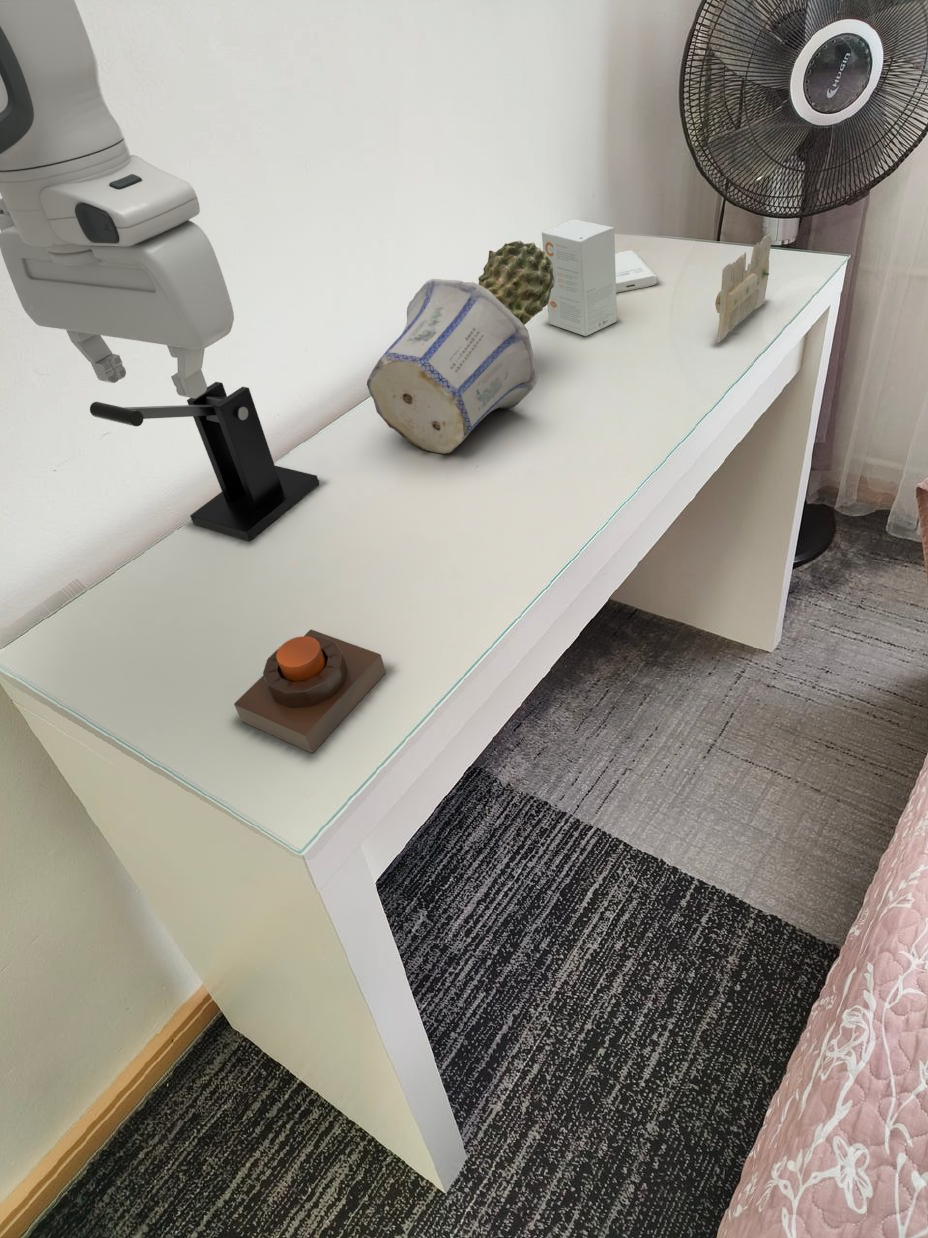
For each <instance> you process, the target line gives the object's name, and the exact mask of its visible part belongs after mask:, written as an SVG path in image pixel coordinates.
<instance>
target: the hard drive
mask: <svg viewBox="0 0 928 1238" xmlns="http://www.w3.org/2000/svg"><path fill="white" fill-rule="evenodd" d="M615 272H616V294H618V293H622V292H627V291H632V290H638V289H642V288H646V287H652V286H655V285H656V284H657V283H658V276H657V275H656V274H655V273H654V272H653V271H652V269H651V268H650V267H649V266H648V265H647V264H646V263H645V262H644V260H643V259H641V257H640V256H639V255H638V254H637V253H636V252H635V251H634V250H631V249H629V250H624V251H620V252H615Z"/></svg>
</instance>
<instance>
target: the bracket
mask: <svg viewBox="0 0 928 1238" xmlns="http://www.w3.org/2000/svg"><path fill="white" fill-rule="evenodd" d="M219 396H227V397H226V398H224V399H223V400H221V401H220V402H218V403H217V404H215V405H214V409H215V412H216V415H217V417H218V420H219V422H214V421H209V420H206V416H193V418H192V419H193V420H194V423H195V426H196V428H197V432H198V433H199V436H200V439H201V441H202V444H203V446H204V448H205V449H204V450H205V452H206V454H207V456H208V459H209V462H210V464H211V467H212V469H213V472H214V474H215V477H216V480H217V482H218V484H219V487H220V490H221V491H220V492H219V493H217V494H216V495H215V496H214V497H212V498H211V499H210V500H209V501H207V502H206V503H204V505H202V506H201V507H199V508H198V509H197V510H195V511H194V512H193V513H191V514H190V515H189V516H190V519H191V521H192V524H193V525H196V526H199V527H202V528H204V529H209V530H211V531H215V532H218V533H221V534H224V535H228V536H231V537H235V538H238V539H241V540H245V541H248V542H251V541H252V540H253V539H254V538H256V537H257V536H258V535H259V534H261V533H262V532H263V531H264V530H265V529H267V528H268V527H269V526H271V524H273V523H274V522H275V521H276V520H278V519H279V518H280V517H282V516H283V515H284V514H285V513H287V512H288V511H289V510H290V509H291V508H293V507H294V506H295V505H296V504H297V503H299V501H301V500H302V499H303V498H304V497H306V496H307V495H308V494H309V493H310V492H312V491H313V490H315V488H317V487H318V486H319V485H320V482H319V478H318V475H317V474H312V473H308V472H304V471H299V470H296V469H291V468H287V467H283V466H279V465H275V461H274V460H273V459H274V458H273V456H272V453H271V450H270V447H269V444H268V440H267V438H266V435H265V432H264V429H263V425H262V423H261V420H260V418H259V414H258V411H257V408H256V404H255V401H254V399H253V396H252V393H251V390H250V388H249V387H247V386H241V387H239V388H238V389H236V390H235V391H233V392H232V393H231V394H229V395H227V391H226V389H225V386H224V384H223V382H220V381H215V382H213V383H211V384H210V385H207V390H206V392H205V393H203V394H202V395H200V396H199V397H197V398H196V399H195V398H188V399H187V400H186V402H187V405H206V397H219Z"/></svg>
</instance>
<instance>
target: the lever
mask: <svg viewBox="0 0 928 1238" xmlns="http://www.w3.org/2000/svg"><path fill="white" fill-rule="evenodd" d="M227 396H228V395H227ZM227 396H219V397H206V405H188V404H185V405H184V404H180V405H156V406H155V405H154V406H124V407H123V406H119V405H115V404H109V403H105V402H101V401H93V402H92V403H91V404H90V406H89V412H90V413H89V414H91V416H92V417H95V418H98V419H103V420H106V421H110V422H115V423H121V424H124V425H127V426H132V427H140V426H141V425H142V424H143V423H144V420H150V419H169V418H171V419H172V418H190V417H191V418H192V417H193V416H206V420H209V421H214V422H219V420H218V417H217V415H216V412H215V409H214V405H215V404H217V403H218V402H220V401H221V400H223V399H224V398H226V397H227Z"/></svg>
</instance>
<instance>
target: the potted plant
mask: <svg viewBox="0 0 928 1238" xmlns="http://www.w3.org/2000/svg"><path fill="white" fill-rule="evenodd" d="M482 270H483V273H482V274H481V275H479V276H478V278H477V280H478V283H477V282H474V281H463V280H457V279H443V278H442V279H441V278H431V279H428V280H426V282H425V283H424V284H423V285H422V286H421V287H420V289H419V290H417V292H416V293H415V294H414V296H413V298H412V299H411V300H410V301H409V302H408V304H407V307H406V324H405V326H404V329H403V330H402V333H401V334H400V335H399V337H397V339H396V340H395V341H394V342H393V343H392V344H391V345H390V346H389V348H387V350H385V352H384V353H383V355H382V356H381V357H380V358H379V359H378V361H377V363H376V364H375V365H374V367H373V369H372V370H371V373H370V374H369V376H368V378H367V380H366V386H367V389H368V392H369V396H370V397H371V398H372V399H373V403H374V407H375V410H376V413H377V414H378V415H379V417H380V418H382V420H383V421H384V422H385V423H386V425H387V426H388V428H390V429H392V430H394V431H395V432H396V433H397V434H399V435H400V436H401V437H402V438H404V439H405V440H407V441H409V442H410V443H411V444H412V445H414V446H416V447H418V448H419V449H421V450H422V451H425V452H432V453H437V454H444V455H445V454H451V452H453V451H454V450H455V449H456V448H457V447H459V445H461V444H462V443H463V441H464V440H465V439H466V438H467V437H468V436H469V435H470V433H471V432H472V431H473V430H474V429H475V427H477V425H479V424H480V422H481V421H482V420H483V419H485V417H487V416H488V415H489V414H490V413H492V412H493V411H495V410H497V409H502V410H511V409H513V408H514V407H516V406H517V405H518V404H520V402H521V401H523V399H525V397H527V395H528V394H530V392H532V390H533V389H534V388H535V386H536V385H537V382H538V372H537V369H536V364H535V359H534V350H533V346H532V342H531V338H530V333H529V330H528V328H527V327H526V326H525V325H526V324H527V323H528V322H530V321H531V320H532V319H533V318H534V317H535V316H536V315H537V314H539V313H540V312H542V311H543V309H544V308H545V307H546V306H547V304H548V302H549V298H550V293H551V289H552V288H553V287H554V283H555V280H554V277H553V264H552V262H551V261H550V259H549V258H548V256H547V254H546V253H545V252H543V249H541V247H537V246H536V243H535V242H533V241H532V242H527V243H524V242H523V241H521V240H516V241H511V242H509V243H504V245H502V247H501V248H499V249H498V250H496V251H493V250H491V249H490V250H488V257H487V262H486V264H485V265H484V266H483V268H482Z"/></svg>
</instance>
